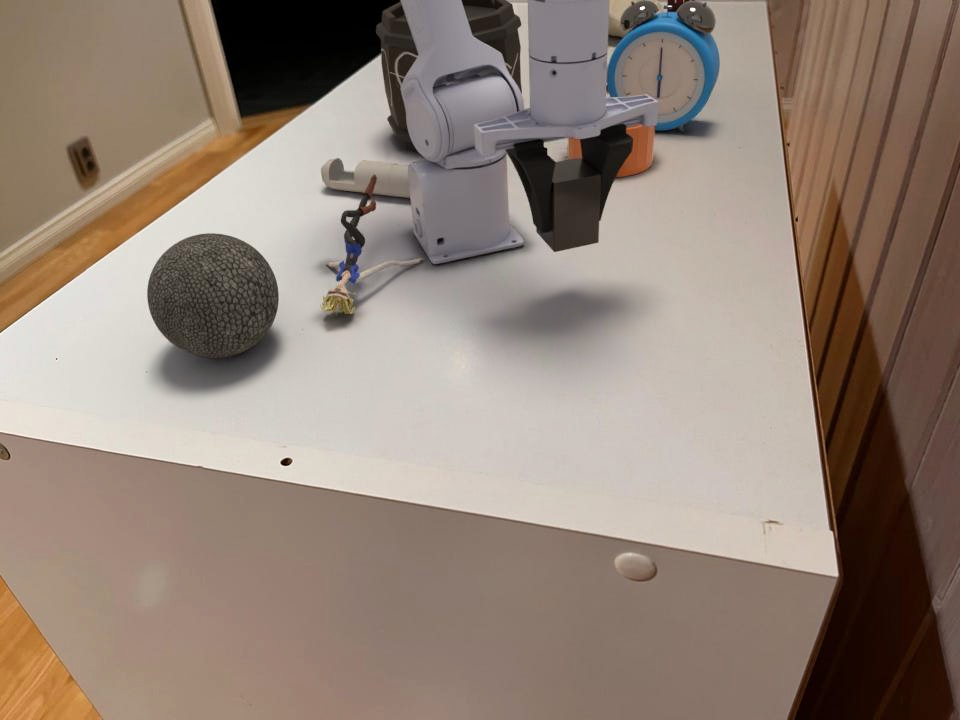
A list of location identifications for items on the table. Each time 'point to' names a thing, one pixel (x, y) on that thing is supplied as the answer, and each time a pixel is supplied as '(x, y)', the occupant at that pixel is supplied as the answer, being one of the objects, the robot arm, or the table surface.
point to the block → (573, 206)
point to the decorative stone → (616, 9)
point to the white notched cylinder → (367, 177)
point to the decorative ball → (213, 295)
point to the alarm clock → (666, 59)
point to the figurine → (354, 256)
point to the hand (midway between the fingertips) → (566, 222)
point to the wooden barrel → (399, 52)
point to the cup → (637, 158)
